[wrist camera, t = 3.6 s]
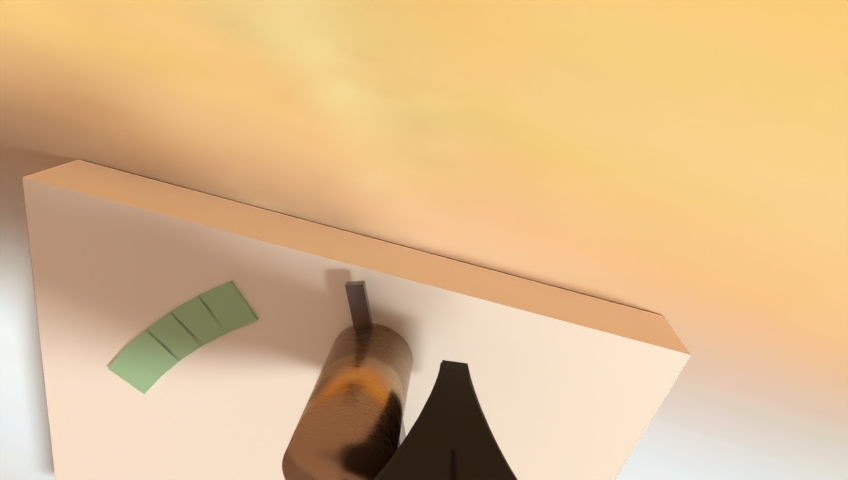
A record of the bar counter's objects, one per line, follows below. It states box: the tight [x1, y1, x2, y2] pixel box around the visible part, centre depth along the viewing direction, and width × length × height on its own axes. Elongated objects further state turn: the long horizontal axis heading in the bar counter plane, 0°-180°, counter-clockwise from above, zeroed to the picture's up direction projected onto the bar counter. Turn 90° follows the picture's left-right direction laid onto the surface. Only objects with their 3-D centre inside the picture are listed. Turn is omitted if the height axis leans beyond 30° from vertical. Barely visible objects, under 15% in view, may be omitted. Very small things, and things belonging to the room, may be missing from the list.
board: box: [22, 159, 691, 480], centre depth 17 cm, size 15×19×2 cm
